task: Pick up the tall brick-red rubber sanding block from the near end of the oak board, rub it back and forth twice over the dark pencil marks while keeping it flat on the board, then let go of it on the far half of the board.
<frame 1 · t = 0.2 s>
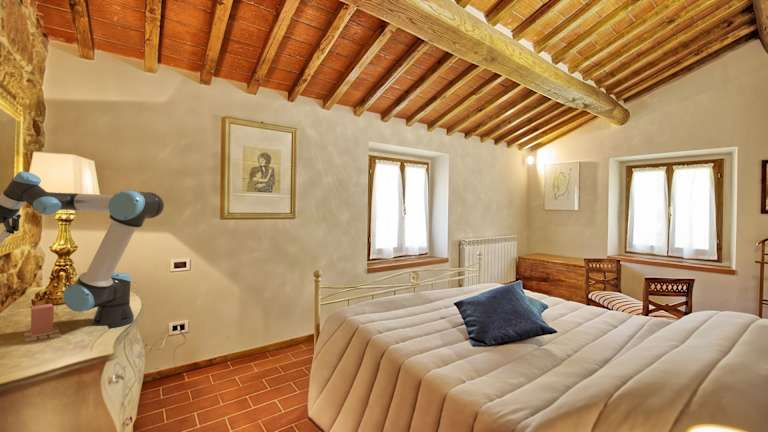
board: (42, 338, 138), on the dresser top
sanding block: (41, 332, 140), point 1 cm above the dresser top, touching board
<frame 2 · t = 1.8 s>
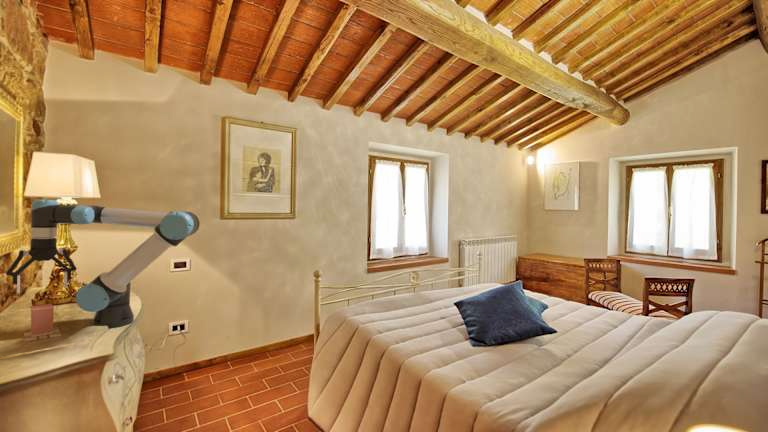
hand: (42, 289, 140), 19 cm above the dresser top, fingers open, 13 cm apart
nothing on the dresser top moved.
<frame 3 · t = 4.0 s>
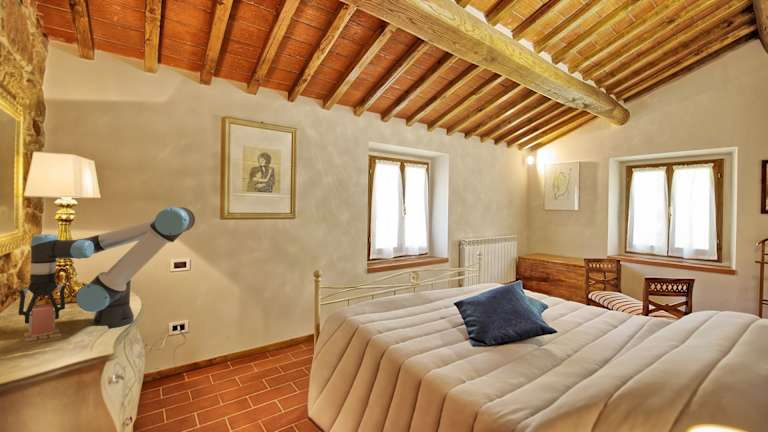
hand: (41, 329, 140), 3 cm above the dresser top, fingers closed on sanding block, 6 cm apart
sanding block: (41, 332, 140), point 1 cm above the dresser top, touching board, gripper
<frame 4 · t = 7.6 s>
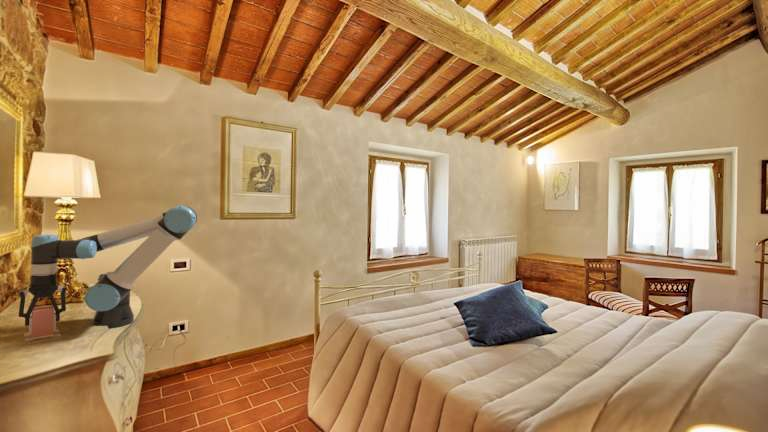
hand: (42, 331, 138), 3 cm above the dresser top, fingers closed on sanding block, 6 cm apart
sanding block: (42, 334, 138), point 1 cm above the dresser top, touching gripper
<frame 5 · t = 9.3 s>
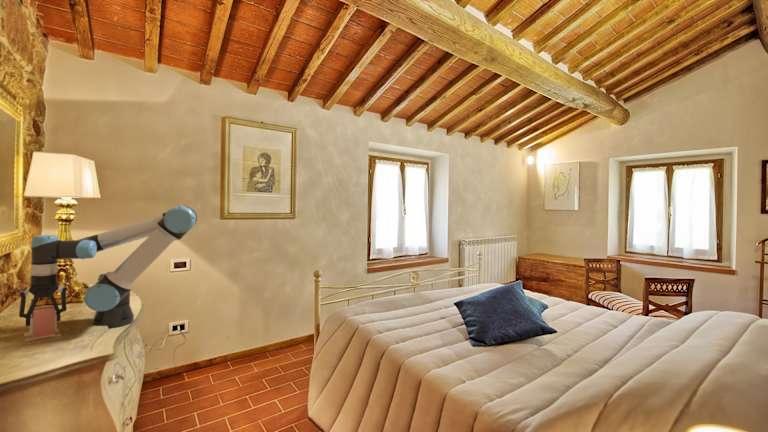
hand: (43, 331, 138), 3 cm above the dresser top, fingers closed on sanding block, 6 cm apart
sanding block: (43, 334, 138), point 1 cm above the dresser top, touching gripper
when the fingers open (3 cm above the dresser top, at t = 11.1 s): sanding block stays where it is, resting on board.
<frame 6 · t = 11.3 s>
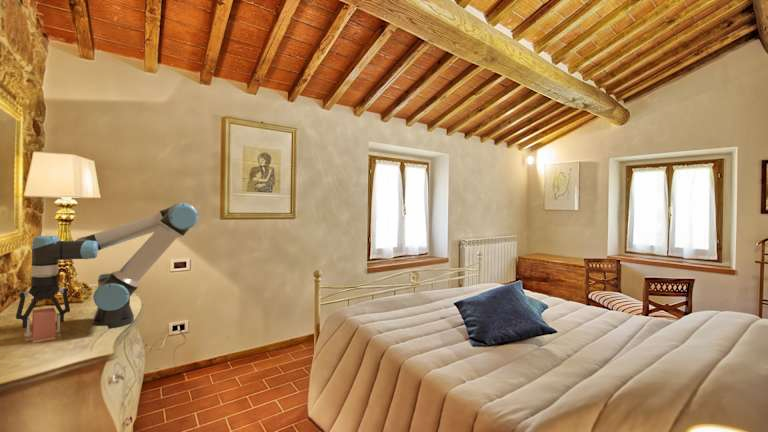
hand: (43, 332, 135), 3 cm above the dresser top, fingers open, 8 cm apart
sanding block: (43, 337, 135), point 1 cm above the dresser top, touching board
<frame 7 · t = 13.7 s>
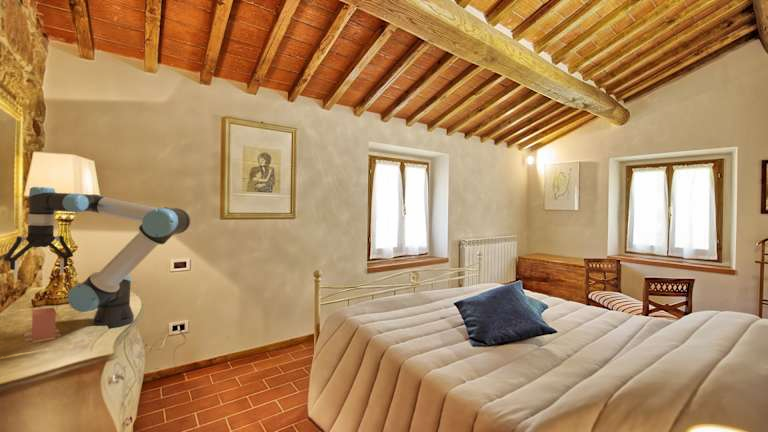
hand: (39, 275, 143), 24 cm above the dresser top, fingers open, 13 cm apart
nothing on the dresser top moved.
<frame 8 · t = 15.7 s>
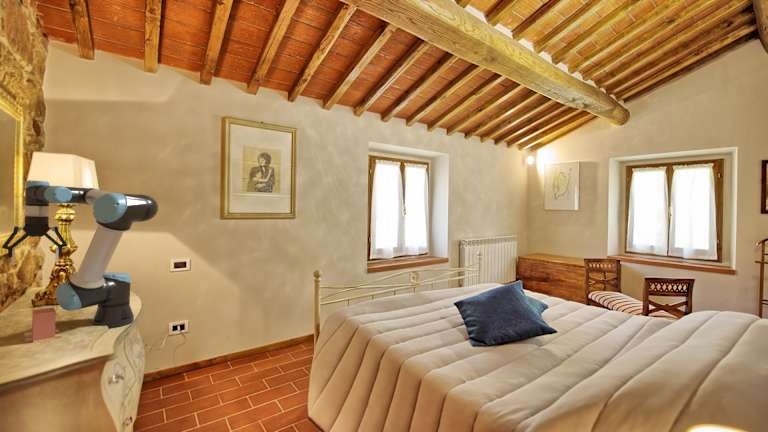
hand: (35, 263, 153), 27 cm above the dresser top, fingers open, 13 cm apart
nothing on the dresser top moved.
at the end: sanding block inside the target area on the board (0.5 cm from its centre), point 1.2 cm above the board's base; sanding block touching board; the gripper is holding nothing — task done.
